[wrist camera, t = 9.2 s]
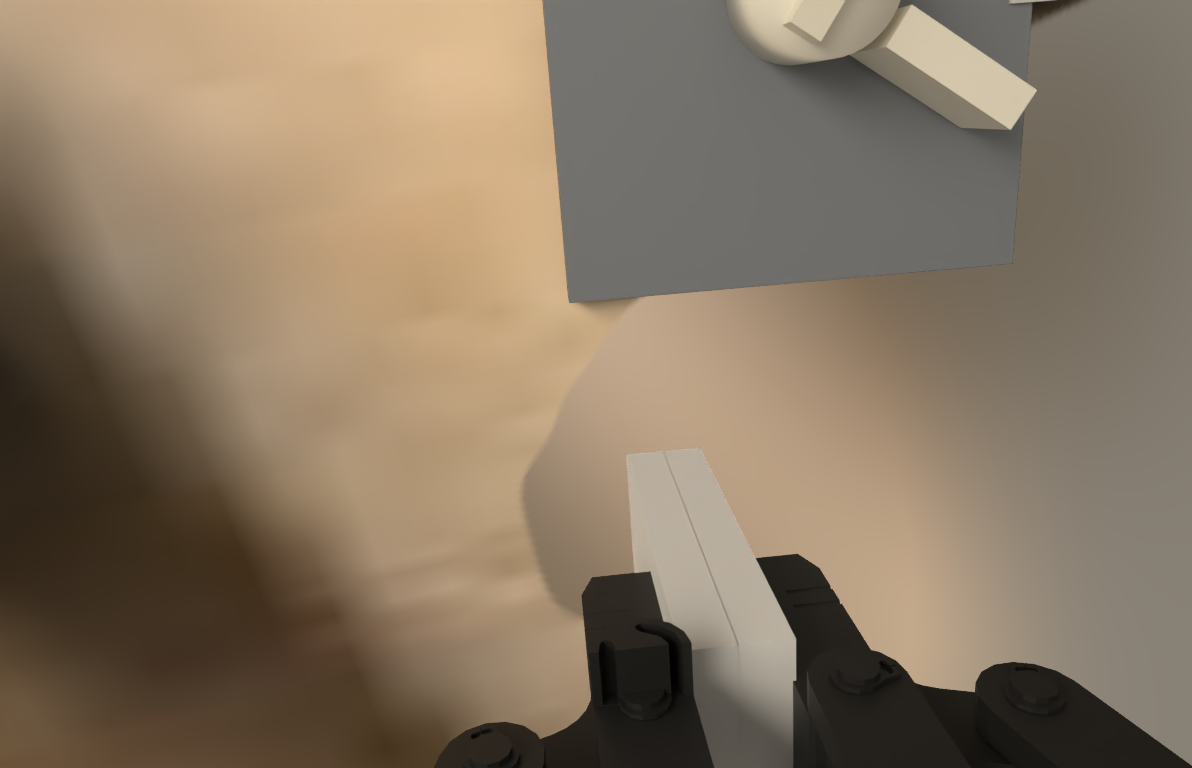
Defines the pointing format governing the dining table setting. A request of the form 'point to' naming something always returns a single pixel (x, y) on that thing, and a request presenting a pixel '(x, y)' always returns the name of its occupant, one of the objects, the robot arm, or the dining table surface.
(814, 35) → the dial
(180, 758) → the dining table surface
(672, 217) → the tuner board
